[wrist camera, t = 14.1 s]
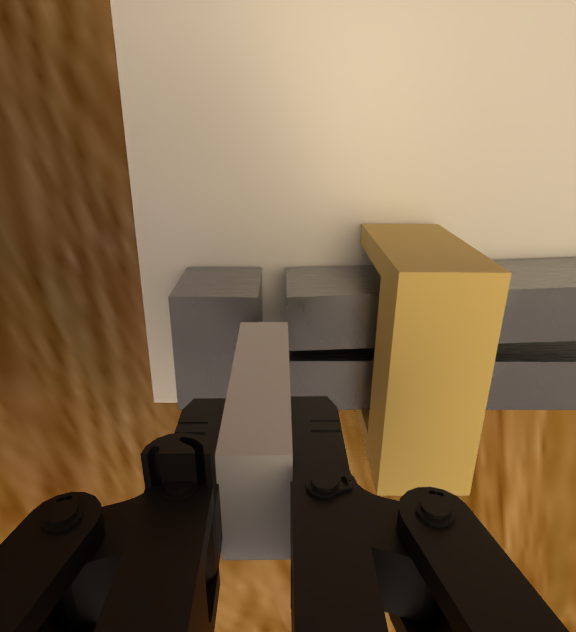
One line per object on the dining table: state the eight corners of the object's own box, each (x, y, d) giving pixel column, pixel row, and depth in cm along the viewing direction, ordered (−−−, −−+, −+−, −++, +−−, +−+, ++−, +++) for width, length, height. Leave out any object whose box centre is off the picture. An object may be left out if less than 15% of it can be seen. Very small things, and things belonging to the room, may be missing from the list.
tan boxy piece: (350, 391, 22) (377, 495, 16) (361, 223, 19) (399, 272, 13) (417, 391, 22) (469, 495, 16) (438, 224, 19) (511, 272, 13)
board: (160, 388, 23) (154, 402, 22) (120, -3, 17) (108, -12, 16) (857, 390, 24) (885, 403, 23) (1053, 10, 18) (1105, 2, 17)
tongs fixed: (194, 364, 21) (178, 409, 18) (187, 267, 19) (167, 296, 16) (827, 366, 21) (924, 410, 18) (872, 271, 20) (988, 300, 17)
